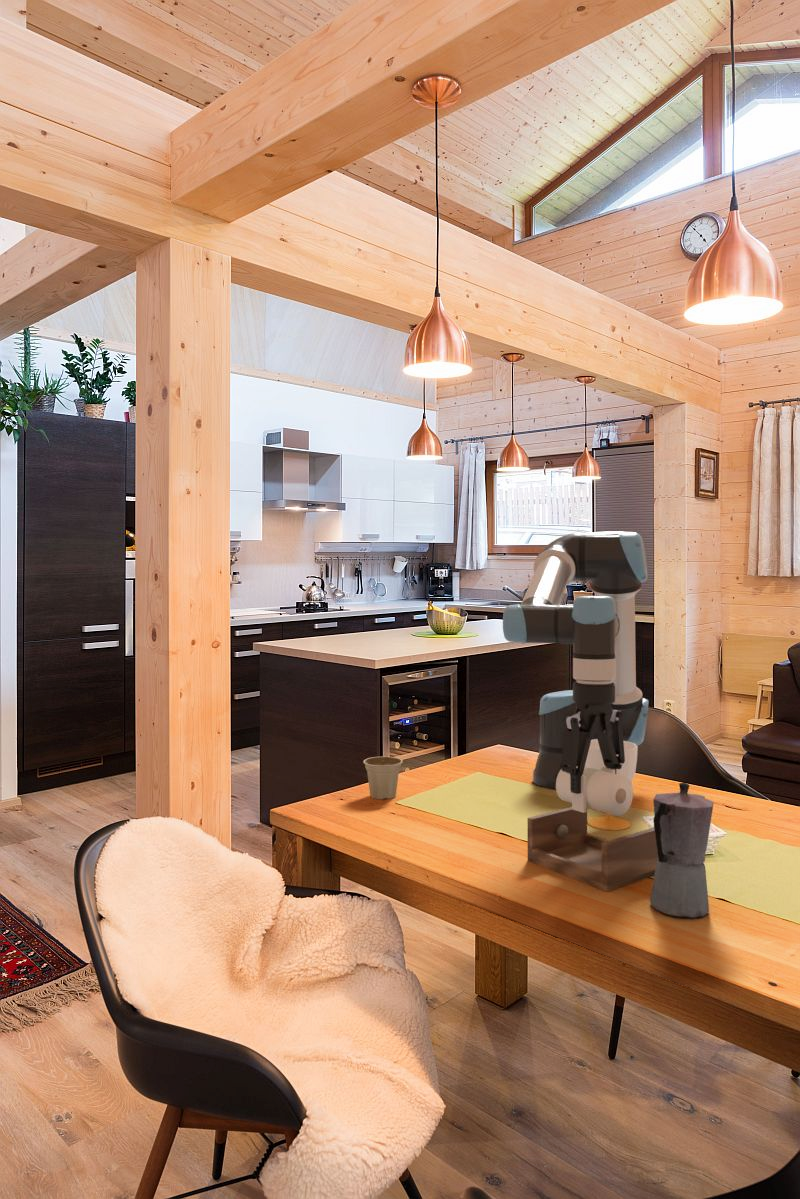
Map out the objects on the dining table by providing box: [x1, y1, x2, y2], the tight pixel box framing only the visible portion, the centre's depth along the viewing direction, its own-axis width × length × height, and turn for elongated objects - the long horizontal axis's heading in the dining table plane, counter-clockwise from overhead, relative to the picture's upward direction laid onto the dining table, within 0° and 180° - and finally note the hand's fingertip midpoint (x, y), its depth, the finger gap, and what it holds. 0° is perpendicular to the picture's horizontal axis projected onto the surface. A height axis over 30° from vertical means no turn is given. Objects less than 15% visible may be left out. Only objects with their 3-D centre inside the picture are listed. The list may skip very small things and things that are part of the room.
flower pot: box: [363, 756, 403, 800], centre depth 197 cm, size 9×9×9 cm
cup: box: [585, 739, 639, 832], centre depth 174 cm, size 12×12×17 cm
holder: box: [527, 806, 658, 892], centre depth 149 cm, size 19×15×8 cm
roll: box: [555, 767, 634, 817], centre depth 149 cm, size 12×7×7 cm, turn 36°
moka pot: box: [649, 782, 714, 918], centre depth 129 cm, size 10×15×20 cm, turn 138°
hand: (593, 806), depth 149 cm, fingers closed on roll, 7 cm apart
